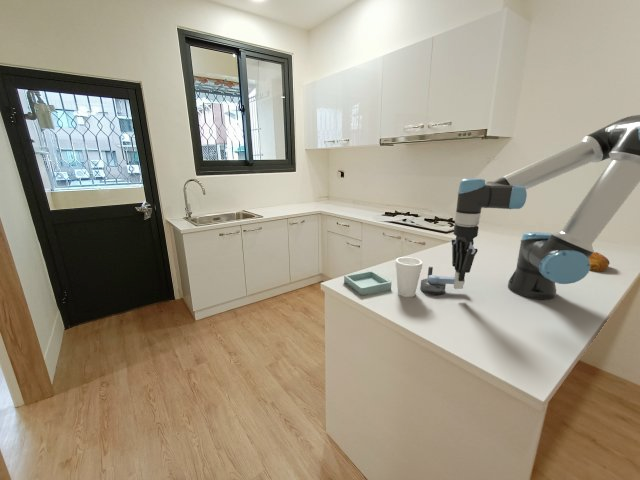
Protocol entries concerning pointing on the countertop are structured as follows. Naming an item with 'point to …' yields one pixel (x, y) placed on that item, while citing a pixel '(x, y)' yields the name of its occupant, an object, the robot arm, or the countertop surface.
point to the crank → (441, 279)
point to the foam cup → (408, 275)
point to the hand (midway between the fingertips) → (458, 287)
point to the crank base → (432, 286)
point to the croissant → (598, 262)
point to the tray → (367, 282)
